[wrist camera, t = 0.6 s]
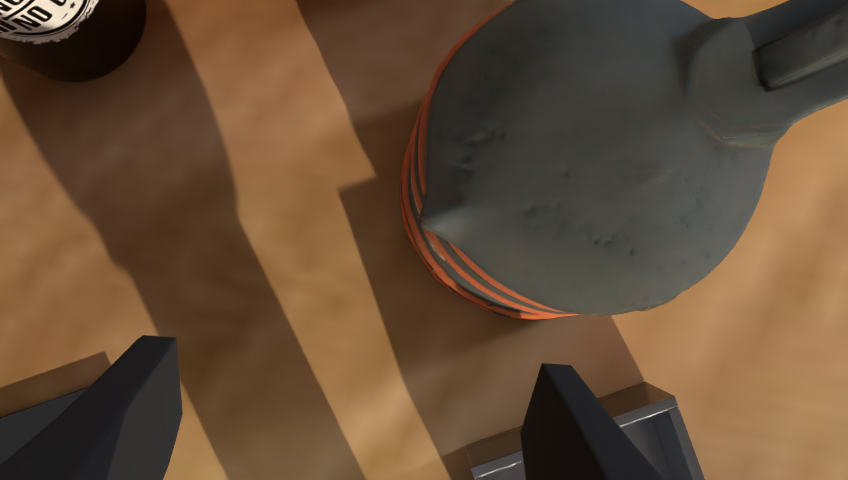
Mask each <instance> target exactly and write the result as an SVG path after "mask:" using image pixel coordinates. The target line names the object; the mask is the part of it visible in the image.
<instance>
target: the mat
mask: <svg viewBox="0 0 848 480" xmlns="http://www.w3.org/2000/svg"><path fill="white" fill-rule="evenodd" d="M88 388H89V387H87V388H84V389H81V390H78V391H76V392H73V393H70V394H67V395H64V396H61V397H58V398H55V399H53V400H50V401H47V402H44V403H41V404H38V405H35V406H33V407H30V408H27V409H24V410H21V411H18V412H15V413H12V414H10V415H7V416H4V417H1V418H0V464H1V463H3V462H4V461H5V460H7V459H8V458H9V457H10V456H12V455H13V454H14V453H15V452H17V451H18V450H19V449H20V448H21V447H22V446H24V445H25V444H26V443H27V442H28V441H30V440H31V439H32V438H33V437H34V436H35V435H37V434H38V433H39V432H40V431H41V430H43V429H44V428H45V427H46V426H47V425H48V424H50V423H51V422H52V421H53V420H54V419H55V418H56V417H58V416H59V415H60V414H61V413H62V412H63V411H64V410H65V409H66V408H67V407H68V406H70V405H71V404H72V403H73V402H74V401H75V400H76V399H77V398H78V397H79V396H80V395H81V394H83V393H84V392H85V391H86V390H87V389H88Z"/></svg>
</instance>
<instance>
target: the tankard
mask: <svg viewBox="0 0 848 480" xmlns="http://www.w3.org/2000/svg"><path fill="white" fill-rule="evenodd" d="M845 99H848V0H789V1H787V2H784V3H782V4H779V5H777V6H775V7H772V8H769V9H767V10H764V11H761V12H758V13H755V14H753V15H749V16H746V17H740V18H730V17H728V18H721V19H713V18H710V17H709V16H707V15H705V14H704V13H702V12H701V11H699V10H697V9H696V8H694V7H692V6H690V5H688V4H686V3H684V2H683V1H680V0H516V1H515V2H514V3H512V4H510V5H508V6H506V7H504V8H502V9H501V10H499V11H497V12H495V13H494V14H492V15H491V16H489V17H488V18H486V19H485V20H483V21H482V22H481V23H479V24H478V25H476V26H475V27H474V28H472V29H471V30H470V31H469V32H467V33H466V34H465V35H464V36H463V37H462V38H461V39H460V40H459V41H458V42H457V43H456V44H455V46H454V47H453V48H452V49H451V50H450V52H449V53H448V54H447V56H446V57H445V58H444V60H443V61H442V63H441V64H440V66H439V67H438V69H437V71H436V73H435V75H434V77H433V79H432V81H431V83H430V86H429V89H428V91H427V93H426V95H425V97H424V99H423V102H422V105H421V107H420V111H419V114H418V117H417V120H416V125H415V127H414V129H413V131H412V134H411V137H410V139H409V143H408V147H407V150H406V154H405V158H404V162H403V166H402V171H401V181H400V203H401V212H402V218H403V222H404V226H405V228H406V231H407V234H408V236H409V238H410V240H411V243H412V244H413V246H414V248H415V250H416V251H417V253H418V255H419V257H420V258H421V260H422V261H423V263H424V265H425V266H426V268H427V269H428V271H429V272H430V273H431V275H432V276H433V277H434V278H435V279H436V280H438V281H439V282H440V283H441V284H442V285H443V286H444V287H446V288H447V289H448V290H449V291H451V292H453V293H454V294H456V295H457V296H458V297H460V298H462V299H464V300H466V301H468V302H470V303H472V304H475V305H477V306H480V307H481V308H483V309H484V310H485V311H488V312H493V313H495V314H498V315H502V316H507V317H514V318H517V319H521V320H524V319H527V320H528V319H547V318H555V317H562V316H574V315H591V316H604V315H616V314H622V313H627V312H632V311H647V310H650V309H653V308H656V307H658V306H661V305H664V304H666V303H668V302H670V301H671V300H673V299H674V298H676V297H677V296H678V295H679V294H680V293H682V292H683V291H685V290H687V289H689V288H690V287H692V286H693V285H695V284H696V283H698V282H699V281H700V280H702V279H703V278H704V277H705V276H707V275H708V274H709V273H710V272H711V271H712V270H713V269H714V268H715V267H716V266H717V265H718V264H719V263H720V262H721V261H722V260H723V259H724V258H725V257H726V256H727V254H728V253H729V252H730V251H731V250H732V249H733V247H734V246H735V245H736V243H737V241H738V240H739V238H740V237H741V235H742V234H743V232H744V230H745V228H746V226H747V224H748V222H749V221H750V219H751V217H752V215H753V213H754V211H755V208H756V206H757V204H758V201H759V198H760V196H761V193H762V189H763V185H764V182H765V179H766V175H767V172H768V168H769V164H770V160H771V156H772V153H773V149H774V146H775V144H776V142H777V141H778V140H779V139H780V138H781V137H782V136H783V135H784V134H785V133H786V132H787V130H788V129H789V128H790V127H791V126H792V125H793V124H794V123H795V122H797V121H799V120H800V119H802V118H804V117H806V116H808V115H810V114H812V113H814V112H816V111H819V110H821V109H824V108H826V107H828V106H831V105H833V104H836V103H838V102H840V101H843V100H845Z"/></svg>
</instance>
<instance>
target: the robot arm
mask: <svg viewBox="0 0 848 480" xmlns="http://www.w3.org/2000/svg"><path fill="white" fill-rule="evenodd" d="M182 414H183V413H182V401H181V389H180V378H179V366H178V354H177V342H176V338H175V337H161V336H147V335H143V336H141V337H140V338H139V339H137V340H136V341H135V342H134V343H133V344H132V345H131V346H130V347H129V348H128V349H127V350H126V351H125V352H124V353H123V354H122V356H121V357H120V358H119V359H118V360H117V361H116V362H115V363H114V364H113V365H112V366H111V367H110V368H109V369H107V370H106V371H105V372H104V373H103V374H102V375H101V376H100V377H99V378H98V379H97V380H96V381H95V382H94V383H93V384H92V385H91V386H90V387H89V388H88V389H87V390H86V391H85V392H84V393H83V394H81V395H80V396H79V397H78V398H77V399H76V400H75V401H74V402H73V403H72V404H71V405H70V406H68V407H67V408H66V409H65V410H64V411H63V412H62V413H61V414H60V415H59V416H58V417H56V418H55V419H54V420H53V421H52V422H51V423H50V424H48V425H47V426H46V427H45V428H44V429H43V430H41V431H40V432H39V433H38V434H37V435H35V436H34V437H33V438H32V439H31V440H30V441H28V442H27V443H26V444H25V445H24V446H22V447H21V448H20V449H19V450H18V451H17V452H15V453H14V454H13V455H12V456H10V457H9V458H8V459H7V460H5V461H4V462H3V463H1V464H0V480H163V478H164V475H165V473H166V470H167V467H168V465H169V462H170V458H171V455H172V451H173V448H174V444H175V441H176V437H177V433H178V429H179V425H180V421H181V418H182ZM520 435H521V444H522V453H523V461H524V469H525V476H526V480H666V479H665V478H664V477H663V476H662V475H661V474H660V473H659V472H658V471H657V470H656V469H655V468H654V467H653V466H652V464H651V463H650V462H649V461H648V460H647V459H646V458H645V456H644V455H643V454H642V453H641V452H640V451H639V450H638V448H637V447H636V446H635V445H634V444H633V442H632V441H631V440H630V439H629V438H628V437H627V435H626V434H625V433H624V432H623V431H622V429H621V428H620V427H619V426H618V424H617V423H616V422H615V421H614V420H613V418H612V417H611V416H610V414H609V413H608V412H607V411H606V409H605V408H604V407H603V406H602V404H601V403H600V402H599V401H598V399H597V398H596V397H595V395H594V394H593V393H592V392H591V390H590V389H589V388H588V387H587V385H586V384H585V383H584V381H583V380H582V379H581V378H580V376H579V375H578V374H577V372H576V371H575V370H574V369H573V367H572V366H571V365H559V364H544V363H542V365H541V368H540V371H539V374H538V378H537V381H536V384H535V387H534V390H533V394H532V397H531V400H530V403H529V406H528V410H527V413H526V416H525V419H524V423H523V426H522V429H521V432H520Z"/></svg>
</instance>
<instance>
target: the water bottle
mask: <svg viewBox="0 0 848 480" xmlns="http://www.w3.org/2000/svg"><path fill="white" fill-rule="evenodd" d="M145 19H146V3H145V0H0V55H1V56H3V57H5V58H8V59H10V60H12V61H14V62H16V63H18V64H20V65H23V66H25V67H27V68H29V69H31V70H33V71H35V72H38V73H40V74H42V75H44V76H46V77H49V78H51V79H55V80H59V81H65V82H83V81H89V80H93V79H96V78H99V77H102V76H104V75H106V74H108V73H110V72H111V71H113V70H115V69H116V68H117V67H119V66H120V65H121V64H122V63H123V62H124V61H125V60H126V59H127V58H128V57H129V56H130V55H131V54H132V52H133V51H134V49H135V48H136V46H137V44H138V42H139V40H140V38H141V36H142V33H143V30H144V26H145Z"/></svg>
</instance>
